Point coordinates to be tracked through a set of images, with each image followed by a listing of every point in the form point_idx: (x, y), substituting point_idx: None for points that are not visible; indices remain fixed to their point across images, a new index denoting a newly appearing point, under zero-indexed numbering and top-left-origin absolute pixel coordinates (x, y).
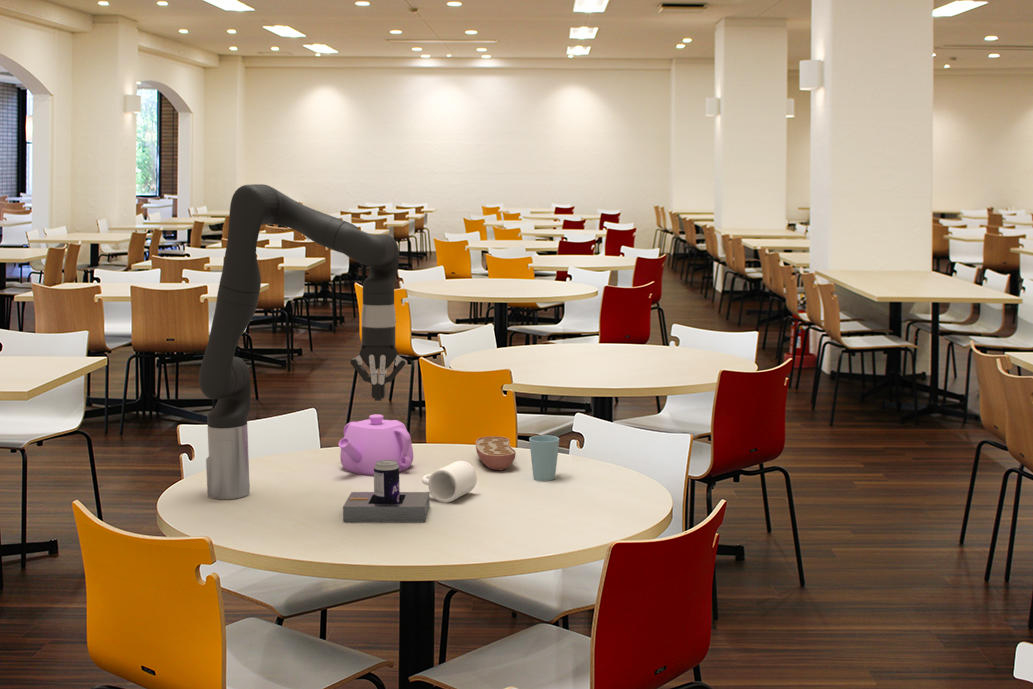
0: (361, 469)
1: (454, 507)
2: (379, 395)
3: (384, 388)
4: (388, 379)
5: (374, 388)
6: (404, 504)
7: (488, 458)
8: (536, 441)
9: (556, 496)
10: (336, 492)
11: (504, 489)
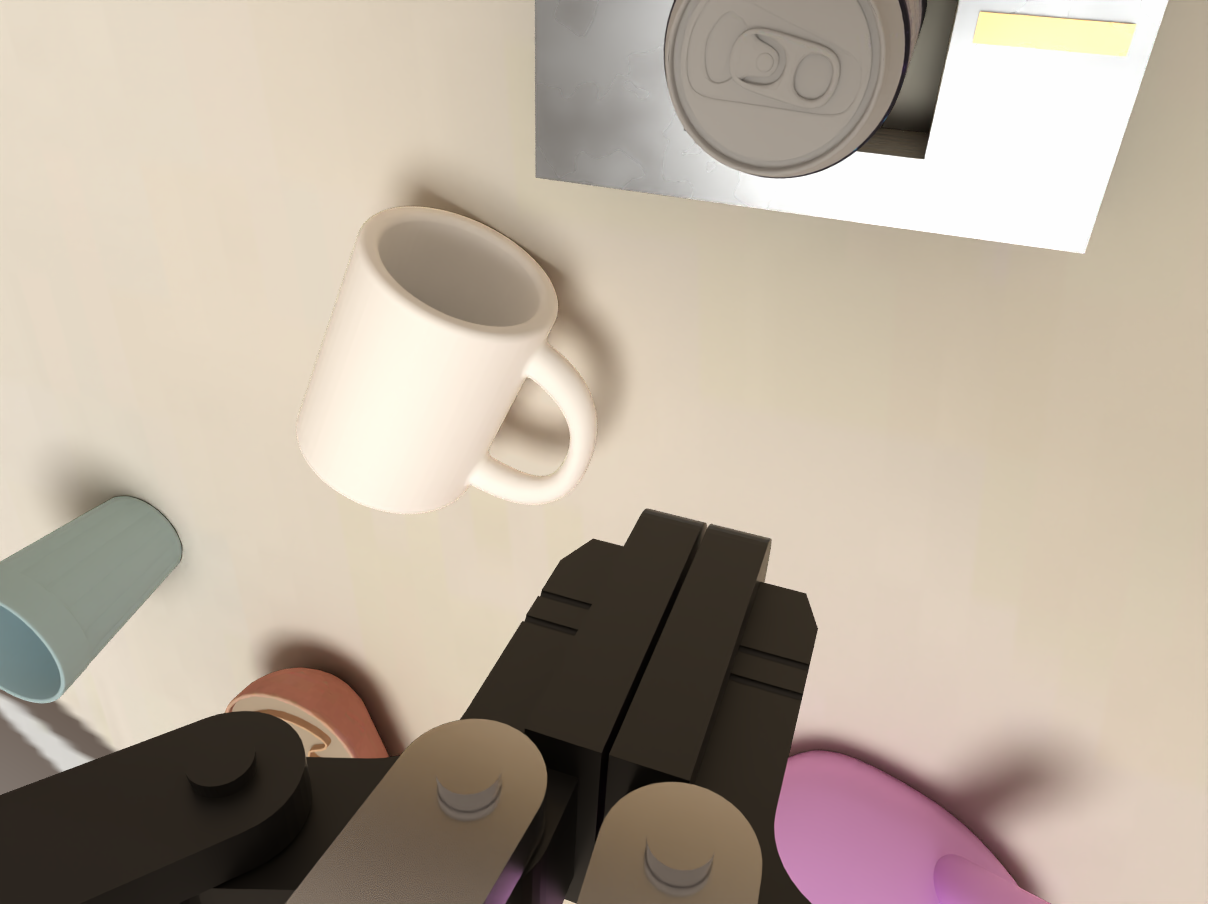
0: (938, 816)
1: (433, 126)
2: (646, 566)
3: (495, 689)
4: (238, 768)
5: (720, 734)
6: None
7: (329, 707)
8: (13, 610)
9: (26, 261)
10: (1133, 545)
11: (255, 412)
